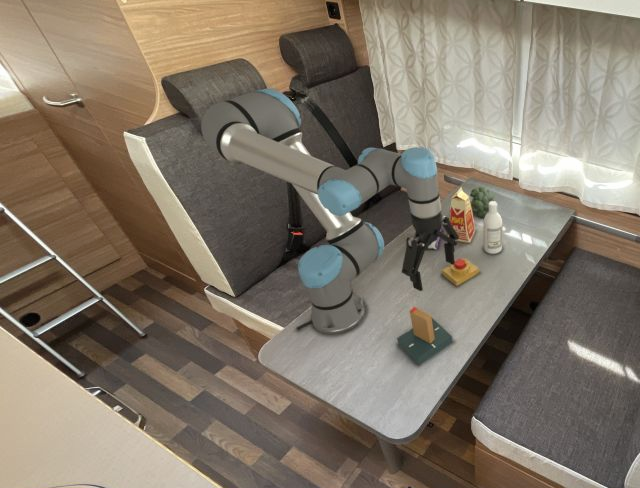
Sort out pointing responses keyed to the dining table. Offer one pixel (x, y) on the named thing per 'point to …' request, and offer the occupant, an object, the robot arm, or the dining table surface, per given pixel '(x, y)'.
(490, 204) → the bath foam
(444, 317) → the dining table surface
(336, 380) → the dining table surface
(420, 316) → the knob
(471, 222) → the milk carton
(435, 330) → the panel
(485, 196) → the vegetable
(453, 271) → the button box
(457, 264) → the button
